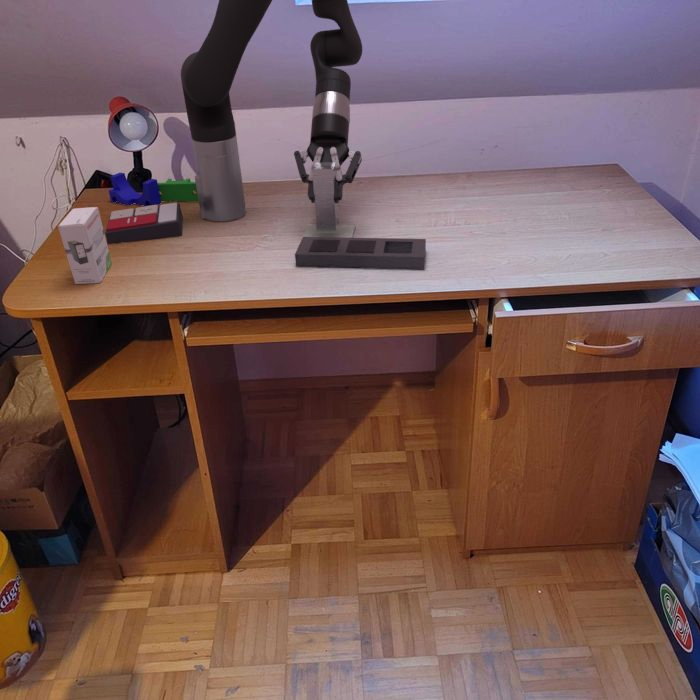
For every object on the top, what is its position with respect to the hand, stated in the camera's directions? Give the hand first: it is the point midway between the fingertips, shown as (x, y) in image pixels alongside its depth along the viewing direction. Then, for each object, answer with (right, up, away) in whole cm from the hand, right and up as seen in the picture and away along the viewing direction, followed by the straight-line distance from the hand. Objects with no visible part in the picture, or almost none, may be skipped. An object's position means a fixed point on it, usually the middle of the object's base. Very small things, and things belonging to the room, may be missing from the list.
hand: (324, 201), depth 131 cm
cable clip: (-45, +5, +27) cm, 53 cm away
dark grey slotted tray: (+7, -12, -3) cm, 14 cm away
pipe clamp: (-35, +6, +28) cm, 45 cm away
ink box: (-44, -15, -4) cm, 46 cm away
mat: (+1, -6, +6) cm, 9 cm away
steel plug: (0, -4, +5) cm, 7 cm away
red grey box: (-39, -4, +13) cm, 41 cm away
